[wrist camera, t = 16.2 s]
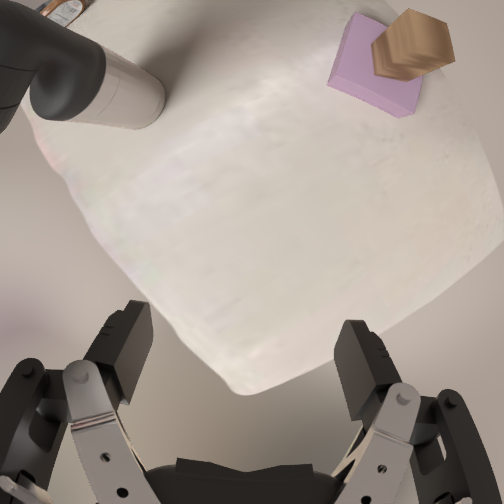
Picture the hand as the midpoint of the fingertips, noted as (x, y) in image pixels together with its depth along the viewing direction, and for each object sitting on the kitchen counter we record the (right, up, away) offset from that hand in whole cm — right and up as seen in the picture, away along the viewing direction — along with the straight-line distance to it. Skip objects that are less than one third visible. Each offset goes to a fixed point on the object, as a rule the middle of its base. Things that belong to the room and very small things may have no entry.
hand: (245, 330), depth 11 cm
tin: (-37, +48, +19) cm, 64 cm away
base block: (+19, +31, +21) cm, 42 cm away
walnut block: (+19, +29, +16) cm, 37 cm away
